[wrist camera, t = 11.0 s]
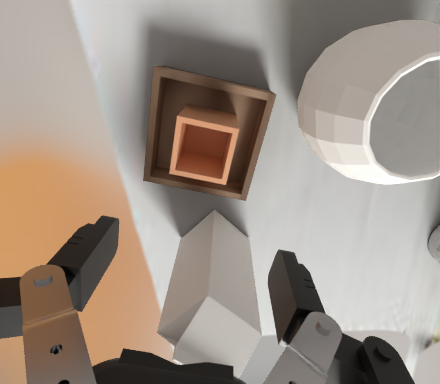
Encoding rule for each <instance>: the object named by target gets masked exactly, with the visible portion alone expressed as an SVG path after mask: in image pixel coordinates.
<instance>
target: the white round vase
mask: <svg viewBox="0 0 440 384" xmlns="http://www.w3.org/2000/svg"><path fill="white" fill-rule="evenodd" d="M297 105H298V126H299V128H300V130H301V132H302V134H303V136H304V138H305V140H306V142H307V144H308V146H309V147H310V148H311V150H312V151H313V152H314V153H315V154H316V155H317V156H318V157H320V158H321V159H322V160H324V161H325V162H326V163H327V164H329V165H330V166H331V167H333V168H334V169H336V170H337V171H339V172H340V173H341V174H343V175H344V176H346V177H349V178H353V179H358V180H362V181H367V182H371V183H378V184H386V185H389V184H398V183H407V182H414V181H421V180H428V179H433V178H435V177H437V176H440V24H436V23H433V22H429V21H425V20H422V19H420V20H398V21H393V22H388V23H383V24H378V25H373V26H368V27H364V28H361V29H357V30H354V31H352V32H350V33H349V34H347V35H346V36H344V37H343V38H341V39H339V40H338V41H336V42H335V43H333V44H332V45H330V46H329V47H327V48H326V49H325V50H324V51H323V53H322V54H321V55H320V56H319V58H318V59H317V60H316V62H315V63H314V64H313V65H312V67H311V68H310V69H309V71H308V72H307V73H306V76H305V79H304V82H303V85H302V88H301V91H300V94H299V97H298V100H297Z"/></svg>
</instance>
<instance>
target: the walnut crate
mask: <svg viewBox="0 0 440 384" xmlns="http://www.w3.org/2000/svg"><path fill="white" fill-rule="evenodd" d="M275 97H276V94H274V93H273V92H272V91H270V90H266V89H261V88H257V87H252V86H248V85H244V84H239V83H235V82H231V81H226V80H222V79H218V78H213V77H209V76H205V75H200V74H196V73H192V72H187V71H183V70H178V69H174V68H170V67H165V66H156V67H153V78H152V89H151V100H150V111H149V123H148V134H147V145H146V156H145V167H144V178H143V181H148V182H153V183H158V184H163V185H168V186H173V187H178V188H183V189H188V190H193V191H199V192H204V193H209V194H214V195H219V196H224V197H229V198H234V199H239V200H244V201H246V198H247V194H248V191H249V188H250V184H251V181H252V177H253V174H254V170H255V167H256V163H257V160H258V156H259V153H260V149H261V146H262V142H263V139H264V136H265V132H266V129H267V125H268V122H269V118H270V115H271V111H272V108H273V104H274V101H275ZM187 104H190V105H195V106H199V107H204V108H208V109H213V110H217V111H222V112H226V113H231V114H235V115H237V120H238V125H239V133H238V137H237V141H236V145H235V149H234V153H233V158H232V162H231V166H230V170H229V174H228V178H227V182H226V185H223V184H218V183H213V182H208V181H203V180H198V179H193V178H188V177H183V176H178V175H173V174H169V172H170V165H171V157H172V150H173V143H174V135H175V128H176V121H177V115H178V114H179V113H180V112H181V111H182V110H183V108H184V107H185V106H186V105H187Z"/></svg>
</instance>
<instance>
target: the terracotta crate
mask: <svg viewBox="0 0 440 384" xmlns="http://www.w3.org/2000/svg"><path fill="white" fill-rule="evenodd" d="M238 133H239V125H238V120H237V115H235V114H231V113H226V112H222V111H217V110H213V109H208V108H204V107H199V106H195V105H190V104H187V105H186V106H185V107H184V108H183V110H182V111H181V112H180V113H179V114H178V115H177V121H176V128H175V135H174V143H173V150H172V157H171V165H170V172H169V174H173V175H178V176H183V177H188V178H193V179H198V180H203V181H208V182H213V183H218V184H223V185H226V182H227V178H228V174H229V170H230V166H231V162H232V158H233V153H234V149H235V145H236V141H237V137H238Z"/></svg>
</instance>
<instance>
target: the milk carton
mask: <svg viewBox="0 0 440 384" xmlns="http://www.w3.org/2000/svg"><path fill="white" fill-rule="evenodd" d="M157 333H158V334H159V335H161V336H162V337H163V338H165V339H166V340H167V341H168V342H170V343H171V344H172V345H174V346H175V349H174V354H173V361H175V362H177V363H178V364H179V365H184V364H192V363H201V362H211V363H217V364H224V365H230V366H233V368H234V376H235V377H237V378H240V376H241V374H242V372H243V370H244V368H245V366H246V364H247V362H248V360H249V359H250V357H251V355H252V353H253V351H254V349H255V347H256V345H257V343H258V341H259V339H260V338H261V336H262V333H261V326H260V318H259V310H258V302H257V295H256V287H255V279H254V272H253V264H252V256H251V249H250V241H249V239H248V238H247V237H246V236H245V235H244V234H243V233H242V232H240V231H239V230H238V229H237V228H236V227H235V226H234V225H232V224H231V223H230V222H229V221H228V220H227V219H225V218H224V217H223V216H222V215H221V214H220V213H218V212H217V211H216V210H213V211H212V212H211V213H210V214H209V215H208V216H206V217H205V218H204V219H203V220H202V221H201V222H200V223H198V224H197V225H196V226H195V227H194V228H193V229H192V230H190V231H189V232H188V233H187V234H186V235H185V236H183V237H182V238H181V240H180V243H179V247H178V251H177V255H176V259H175V263H174V267H173V271H172V275H171V279H170V283H169V287H168V291H167V295H166V299H165V303H164V307H163V311H162V315H161V319H160V323H159V327H158V332H157Z"/></svg>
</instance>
